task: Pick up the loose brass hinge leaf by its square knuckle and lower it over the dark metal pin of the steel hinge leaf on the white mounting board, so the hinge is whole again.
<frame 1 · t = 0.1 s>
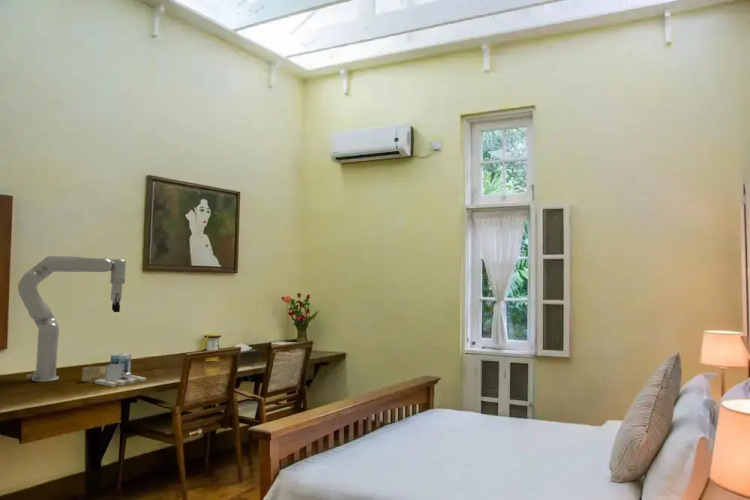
hand: (115, 311, 336), 37 cm above the table, tool pointing down, fingers open, 9 cm apart
steel hinge leaf: (125, 380, 327), resting on white mounting board
white mounting board: (120, 381, 324), on the table
brass hinge leaf: (90, 380, 322), on the table
light bulb box: (120, 373, 348), on the table
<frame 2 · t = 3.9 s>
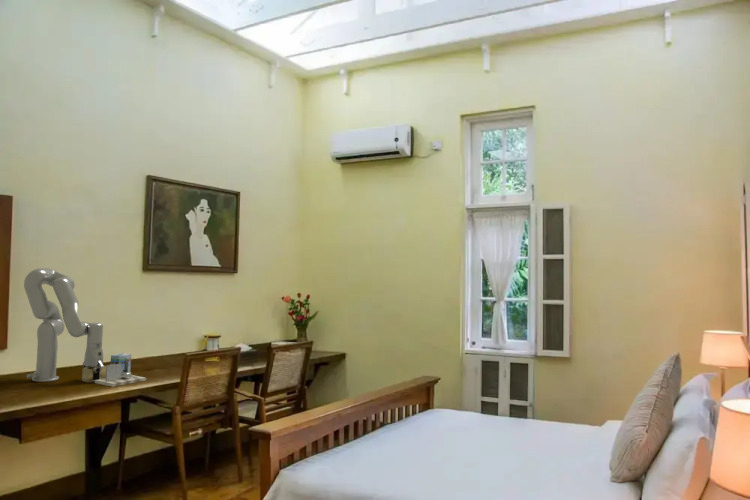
hand: (92, 378, 323), 1 cm above the table, tool pointing down, fingers closed on brass hinge leaf, 6 cm apart
brass hinge leaf: (90, 380, 322), on the table, touching gripper
everything else where it was.
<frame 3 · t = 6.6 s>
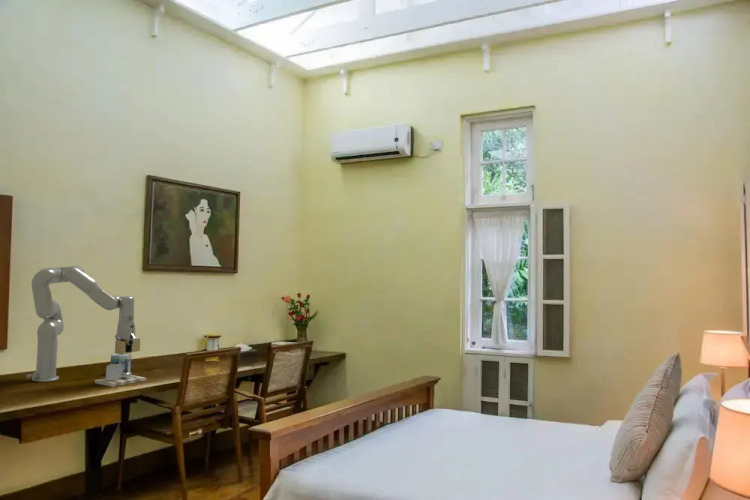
hand: (124, 351, 328), 16 cm above the table, tool pointing down, fingers closed on brass hinge leaf, 6 cm apart
brass hinge leaf: (123, 353, 327), point 15 cm above the table, touching gripper
everything else where it was.
when the fingers open (6 cm above the table, at t = 9.4 s): brass hinge leaf stays where it is, resting on steel hinge leaf.
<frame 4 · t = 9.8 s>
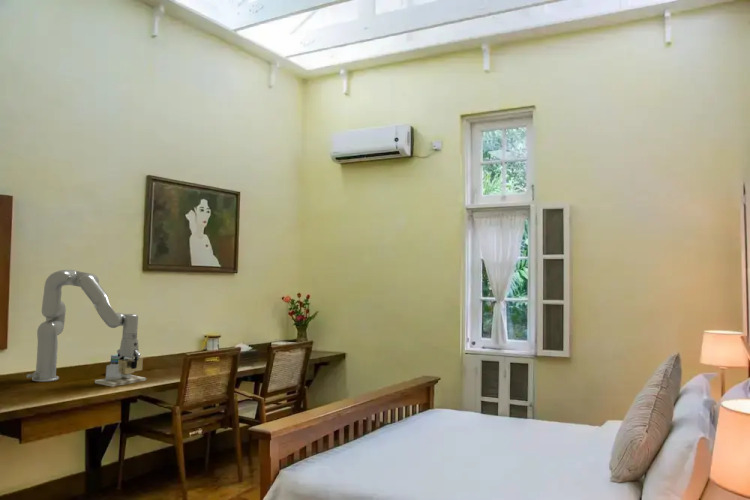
hand: (127, 367, 328), 7 cm above the table, tool pointing down, fingers open, 9 cm apart
brass hinge leaf: (125, 372, 327), point 4 cm above the table, touching steel hinge leaf
everything else where it was.
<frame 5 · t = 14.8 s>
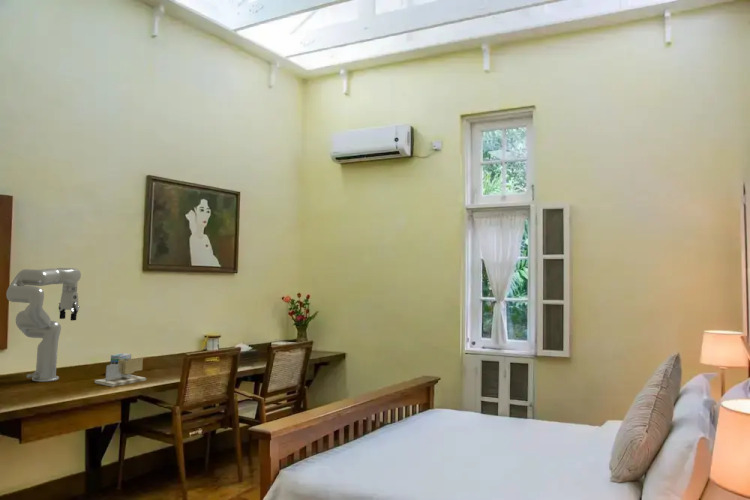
hand: (67, 319, 341), 30 cm above the table, tool pointing down, fingers open, 9 cm apart
nothing on the table moved.
at the end: brass hinge leaf 0.0 cm off-centre on the steel hinge leaf, point 4.5 cm above the steel hinge leaf's base; brass hinge leaf tilted 0°; the gripper is holding nothing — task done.
